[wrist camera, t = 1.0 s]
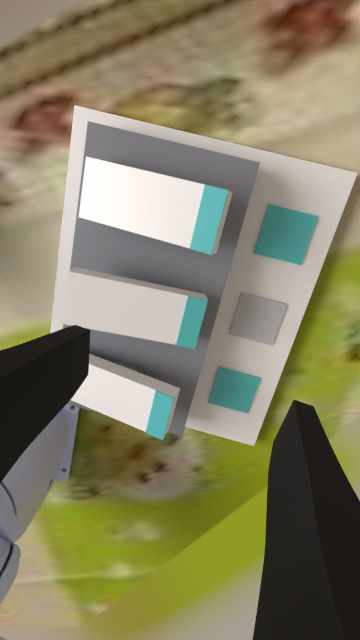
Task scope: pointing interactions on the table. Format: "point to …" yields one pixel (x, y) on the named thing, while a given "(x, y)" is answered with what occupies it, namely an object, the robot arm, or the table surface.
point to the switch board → (243, 266)
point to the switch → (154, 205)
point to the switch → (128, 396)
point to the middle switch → (133, 307)
